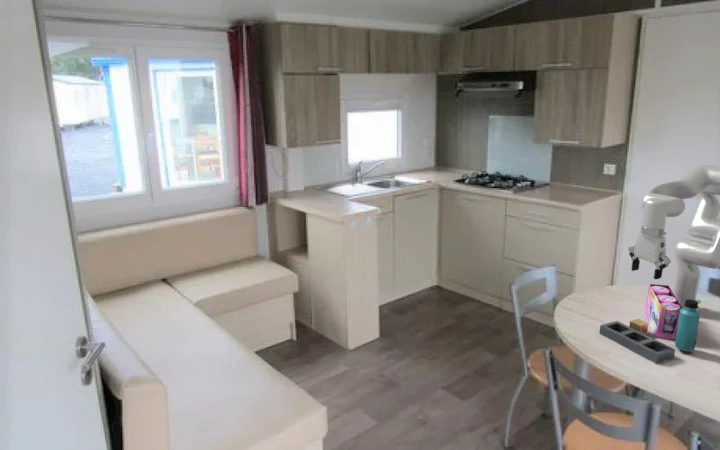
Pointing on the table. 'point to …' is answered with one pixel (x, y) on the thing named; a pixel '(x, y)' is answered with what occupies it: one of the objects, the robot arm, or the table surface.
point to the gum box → (662, 311)
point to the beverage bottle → (687, 326)
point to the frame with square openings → (642, 345)
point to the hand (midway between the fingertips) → (645, 274)
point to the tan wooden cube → (639, 325)
